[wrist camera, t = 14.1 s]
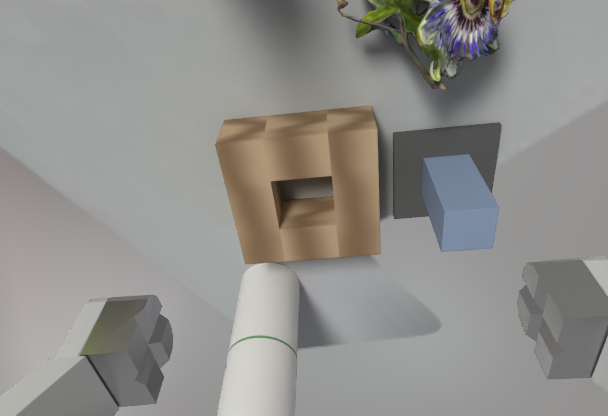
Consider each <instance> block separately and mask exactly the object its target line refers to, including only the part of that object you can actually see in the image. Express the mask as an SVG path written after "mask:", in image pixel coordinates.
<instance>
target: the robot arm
mask: <svg viewBox="0 0 608 416" xmlns="http://www.w3.org/2000/svg"><path fill="white" fill-rule="evenodd" d="M522 278H523V279H524V281H525V283H526V285H525V286H524V287H523V288H522V289H521V290H520V291H519V295H518V302H517V303H518V313H519V318H520V321H521V324H522V327H523V329H524V331H525V333H526V335H528V336H529V337H531V338H532V339H534V340H535V341H536V346H535V350H534V352H535V354H536V357H537V358H538V361H539V363H540V365H541V367H542V369H543V371H544V373H545V375H546V377H547V379H567V378H591V380H592V381H593V382H595V383H596V384H597V385H598V386H599V387H600V388H602V389H603V390H604V391H605V392H607V393H608V258H606V257H604V256H594V257H593V256H592V257H582V258H577V259H562V260H551V261H541V262H531V263H527V264H526V265H525V266H524V269H523V274H522ZM161 308H162V305H161V303H160V301H159V299H158V297H157V296H154V295H145V296H126V297H112V298H100V299H90V300H89V301H88V302H86V303H85V304H84V306H83V308H82V310H81V311H80V313H79V315H78V317H77V319H76V321H75V323H74V324H73V326H72V328H71V330H70V332H69V333H68V335H67V337H66V339H65V341H64V343H63V344H62V346H61V348H60V350H59V352H58V353H57V355H56V357H55V358H50V359H47V360H46V361H45V362H44V363H42V364H41V365H40V366H39V367H37V368H36V369H35V370H33V371H32V372H31V373H30V374H28V375H27V376H26V377H25V378H24V379H22V380H21V381H20V382H18V383H17V384H16V385H14V386H13V387H12V388H11V389H10V390H8V391H7V392H6V393H4V394H3V395H2V396H0V416H114V415H115V414H116V412H117V411H118V410H119V408H118V407H126V406H136V405H147V404H156V401H157V398H158V395H159V392H160V388H161V385H162V382H163V379H164V376H163V374H162V372H161V370H160V368H161V367H162V366H163V365H164V364H165V363H166V362H168V361H169V359H170V355H171V352H172V345H173V334H172V329H171V325H170V323H169V320H168V319H166V318H165V317H164V316H162V315H161V314H160V311H161Z"/></svg>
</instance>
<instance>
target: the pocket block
mask: <svg viewBox="0 0 608 416" xmlns="http://www.w3.org/2000/svg"><path fill="white" fill-rule="evenodd" d="M215 146H216V150H217V154H218V158H219V162H220V166H221V170H222V174H223V178H224V182H225V185H226V189H227V193H228V197H229V201H230V205H231V209H232V213H233V217H234V221H235V225H236V229H237V233H238V237H239V241H240V245H241V249H242V253H243V257H244V261H245V264H256V263H270V262H283V261H296V260H310V259H323V258H337V257H350V256H363V255H377V254H381V253H380V251H381V250H380V211H379V171H378V132H377V125H376V122H375V118H374V114H373V110H372V106H362V107H352V108H342V109H332V110H322V111H312V112H303V113H293V114H283V115H273V116H263V117H253V118H243V119H233V120H224V123H223V125H222V128H221V131H220V133H219V136H218V139H217V141H216V144H215ZM325 176H332V184H333V195H334V196H332V197H320V198H308V199H297V200H285V201H282V196H281V191H280V185H279V181H280V180H291V179H302V178H313V177H325Z"/></svg>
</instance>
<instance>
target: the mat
mask: <svg viewBox="0 0 608 416" xmlns="http://www.w3.org/2000/svg"><path fill="white" fill-rule="evenodd" d="M501 126H502V125H501V124H500V123H489V124H478V125H468V126H457V127H447V128H436V129H426V130H415V131H405V132H395V133H393V216H394V219H400V218H412V217H425V216H429V214H428V212H427V209H426V206H425V203H424V200H423V197H422V180H423V158H431V157H442V156H454V155H465V154H469V155H470V157H471V158H472V160H473V162H474V164H475V165H476V167H477V169H478V171H479V172H480V174H481V176H482V178H483V179H484V181H485V183H486V185H487V186H488V188H489V190H490V192H491V193H492V188H493V181H494V174H495V167H496V160H497V153H498V146H499V140H500V133H501Z"/></svg>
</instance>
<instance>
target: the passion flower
mask: <svg viewBox="0 0 608 416" xmlns="http://www.w3.org/2000/svg"><path fill="white" fill-rule="evenodd" d="M368 1H369V2H370V3H371V5H372V6H374V7H375V10H374V11H369V12H368V13H367V14H366V15H365V16H364V17H363V18H362V19H357V18H354V17H352V16H349V15H346V14H343V13H342V12H340V9H342V8H344V7H345V6H347V5H348V2H346V1H345V0H337V2H338V11H339V13H340V14H341V15H342V16H344V17H347V18H349V19H352V20H354V21H356V22H359V24H358V27H357V30H356V38H359V37H361V36H363V35H365V34H367V33H369V32H371V31H372V30H376V29H382V30H383V31H384V33H386V34H387V35H388V36H390V37H391V38H393V39H394V40H395V41H396V42H397V43H399V44H400V45H401V46H403V47H404V48H405V49H406V51H407V53H408V54H409V55H410V57H411V59H412V60H413V61H414V62H415V64H416V65H417V67H418V68H419V70H420V71H421V73H422V74H423V76H424V78H425V80H426V81H427V82H428V83H429V84H430V86H431V87H432V89H433V88H434V89H435V88H437V87H438V88H439V89H440V88H441V89H444V90H445V89H447V87H446V86H445V84H444V83H443V82H442V81H441V79H440V78H441V76H442V75H444V76H447V77H448V78H449V79H453V78H454V77H456V76H457V75H458V74H459V73H460V70H461V67H462V66H461V65H462V60H463V59H464V58H468V59H469V60H470V61H471V60H473V59H475V58H476V55H477V56H478V58H479V57H480V54H479V52H480V53H481V54H483V55H485V56H486V55H492V54H493V53H494V52H496V51H497V50H498V49H499V44H498V42H497V41H496V38H497V36H498V30H497V27H498V26H499V23H500V20H501V19H502V18H503V17H505V16H506V15H507V14H508V12H509V8H510V4H511V3H512V1H514V0H368ZM420 2H427V4H428V5H429V7H428V8H427V9H426V10H424V11H423V12H422V13H420V14H417V8H418V5H419V4H420ZM426 11H427V12H426ZM425 12H426V14H425V16H424V18H422V17H421V16H420V15H422V14H424V13H425ZM391 18H397V19H398V20H399V22H400V27H399V29H397V28H396V27H394V26H392V24H391V23H387V24H386V22H387V21H388V20H389V19H391ZM407 33H410V34H412V35H413V36H414V37H415V38H416V40H417V43H418V45H419V47H420V49H421V51H422V52H424V53H425V54H427V56H428V57H429V58H431V59H433V60H434V61H435V63H436V65H437V68H436V69H433V65H434V61H432V62H431V65H430V74H429V73H428V72H427V71H426V70H425V68H424V67H423V66H422V64H421V63H420V61H419V60H418V58H417V56H416V55H415V54H414V52H413V51H412V49H411V48H410V46H409V44H408V34H407Z"/></svg>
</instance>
